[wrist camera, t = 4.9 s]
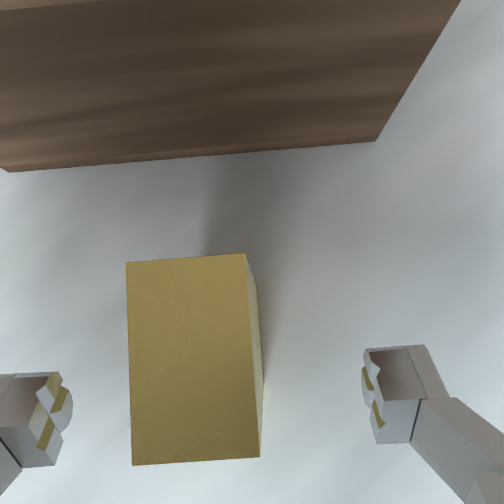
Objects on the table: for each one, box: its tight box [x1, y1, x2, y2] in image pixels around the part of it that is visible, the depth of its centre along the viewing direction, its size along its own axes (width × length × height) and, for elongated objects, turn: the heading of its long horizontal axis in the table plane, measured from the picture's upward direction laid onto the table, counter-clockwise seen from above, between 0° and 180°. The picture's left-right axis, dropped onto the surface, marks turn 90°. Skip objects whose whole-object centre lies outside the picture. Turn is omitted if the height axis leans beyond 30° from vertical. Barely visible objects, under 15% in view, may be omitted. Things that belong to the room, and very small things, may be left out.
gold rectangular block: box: [126, 253, 264, 466], centre depth 13 cm, size 4×2×9 cm, turn 4°
